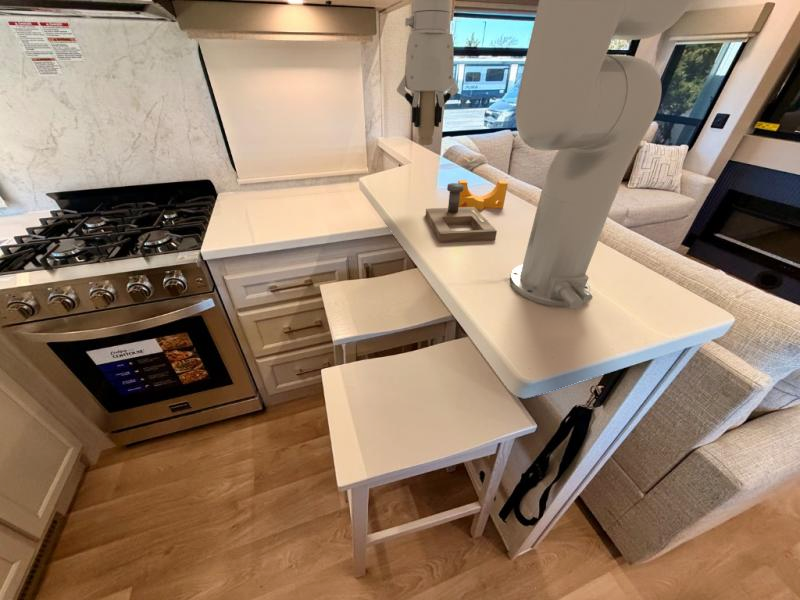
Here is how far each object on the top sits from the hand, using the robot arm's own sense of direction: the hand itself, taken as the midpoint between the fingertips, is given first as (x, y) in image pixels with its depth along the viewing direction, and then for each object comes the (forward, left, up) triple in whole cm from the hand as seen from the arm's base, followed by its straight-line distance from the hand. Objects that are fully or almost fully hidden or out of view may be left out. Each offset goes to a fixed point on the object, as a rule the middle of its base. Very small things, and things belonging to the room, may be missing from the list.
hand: (426, 125), depth 77 cm
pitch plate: (-17, -5, -19) cm, 26 cm away
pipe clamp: (-4, -14, -19) cm, 24 cm away
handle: (0, 0, -4) cm, 4 cm away
